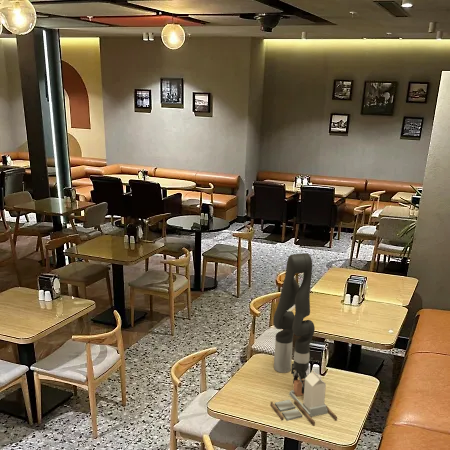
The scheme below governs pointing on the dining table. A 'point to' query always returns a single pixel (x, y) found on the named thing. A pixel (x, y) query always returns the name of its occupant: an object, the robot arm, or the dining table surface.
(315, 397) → the milk carton
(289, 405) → the board
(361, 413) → the dining table surface
